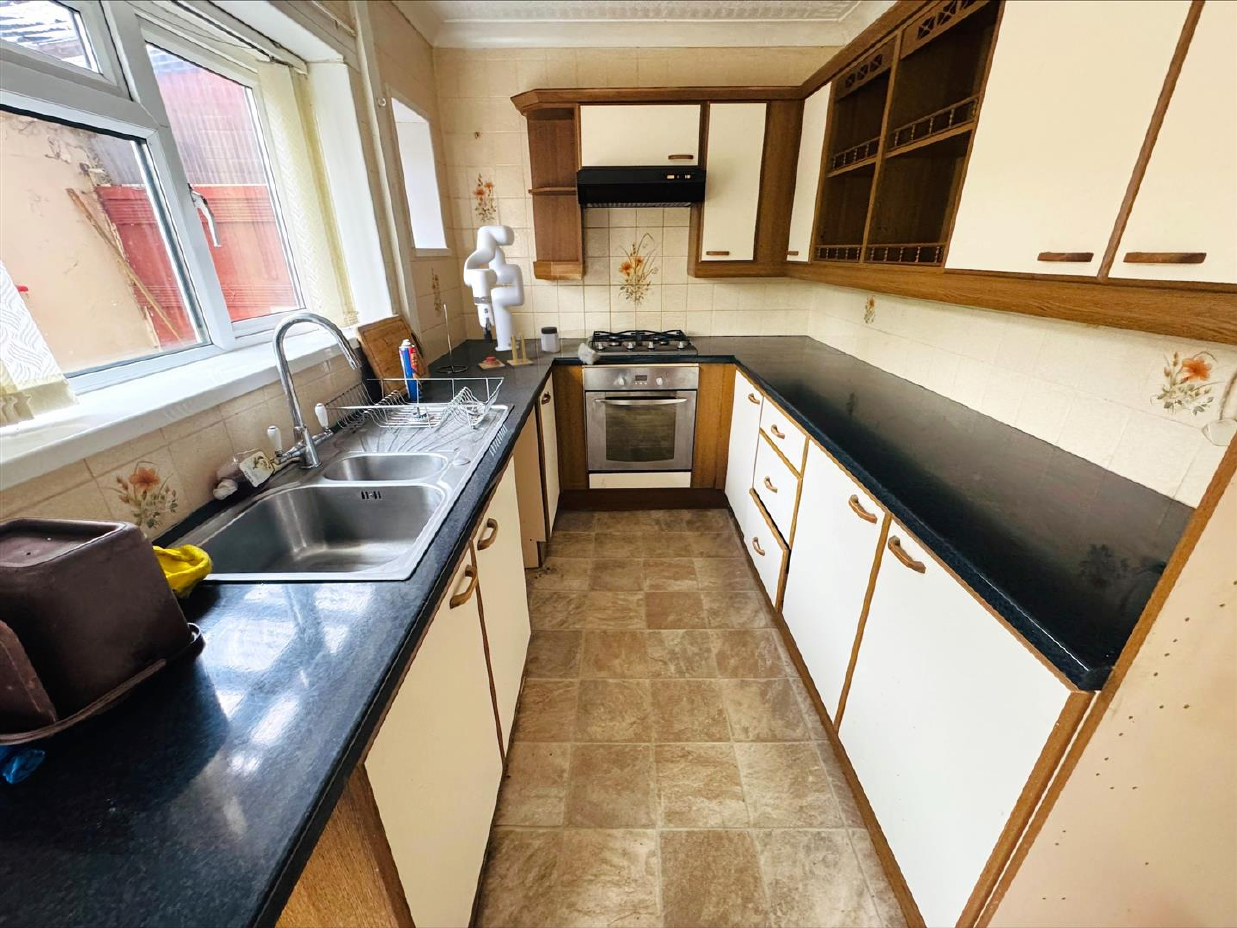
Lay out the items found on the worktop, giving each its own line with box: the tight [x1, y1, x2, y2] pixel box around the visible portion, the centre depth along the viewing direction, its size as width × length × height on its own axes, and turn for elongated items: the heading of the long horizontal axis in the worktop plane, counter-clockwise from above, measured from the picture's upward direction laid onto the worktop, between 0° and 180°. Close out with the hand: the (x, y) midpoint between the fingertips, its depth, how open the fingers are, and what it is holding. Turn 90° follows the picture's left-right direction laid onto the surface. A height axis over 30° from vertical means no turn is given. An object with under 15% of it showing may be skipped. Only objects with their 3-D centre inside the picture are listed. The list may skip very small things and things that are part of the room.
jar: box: [540, 326, 560, 354], centre depth 261 cm, size 9×8×12 cm
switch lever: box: [508, 334, 521, 346], centre depth 237 cm, size 12×5×2 cm, turn 24°
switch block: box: [478, 358, 506, 370], centre depth 233 cm, size 12×10×3 cm
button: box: [485, 356, 496, 362], centre depth 232 cm, size 4×4×2 cm
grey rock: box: [577, 342, 601, 366], centre depth 232 cm, size 15×7×15 cm
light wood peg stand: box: [506, 332, 535, 367], centre depth 235 cm, size 12×10×14 cm
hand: (488, 342), depth 229 cm, fingers closed
